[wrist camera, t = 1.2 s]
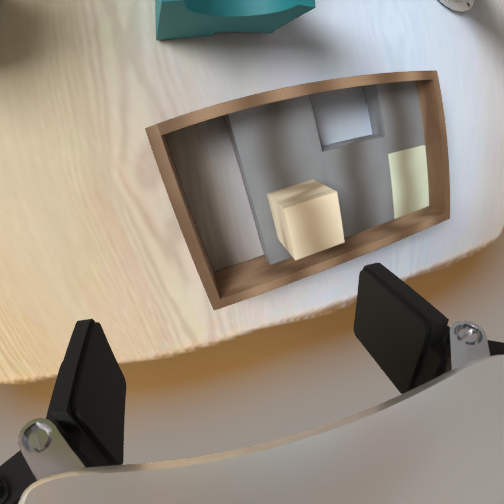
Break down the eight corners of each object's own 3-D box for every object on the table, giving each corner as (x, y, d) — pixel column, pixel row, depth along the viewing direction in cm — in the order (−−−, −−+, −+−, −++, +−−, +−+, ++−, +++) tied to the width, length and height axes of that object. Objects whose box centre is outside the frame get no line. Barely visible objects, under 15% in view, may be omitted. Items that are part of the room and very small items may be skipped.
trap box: (406, 72, 30) (436, 70, 25) (422, 205, 38) (449, 218, 33) (151, 126, 27) (145, 128, 22) (207, 283, 35) (213, 310, 30)
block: (313, 179, 30) (337, 191, 26) (322, 224, 33) (344, 242, 28) (266, 193, 30) (283, 208, 25) (278, 239, 32) (295, 260, 28)
